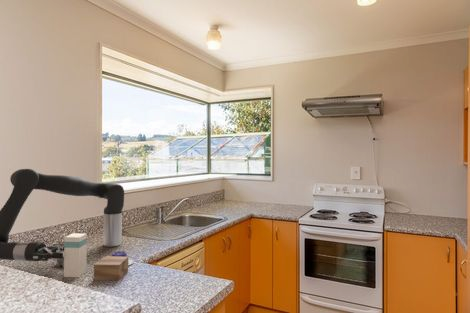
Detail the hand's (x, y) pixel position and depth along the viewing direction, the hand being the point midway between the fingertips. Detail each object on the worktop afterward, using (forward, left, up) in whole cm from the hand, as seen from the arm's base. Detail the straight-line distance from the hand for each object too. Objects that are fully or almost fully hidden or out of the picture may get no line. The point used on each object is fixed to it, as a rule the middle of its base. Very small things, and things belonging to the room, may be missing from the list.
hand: (68, 252), depth 127 cm
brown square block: (0, +18, -9) cm, 20 cm away
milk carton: (0, +3, -9) cm, 9 cm away
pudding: (-13, +16, -10) cm, 23 cm away
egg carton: (-13, -6, -9) cm, 17 cm away
